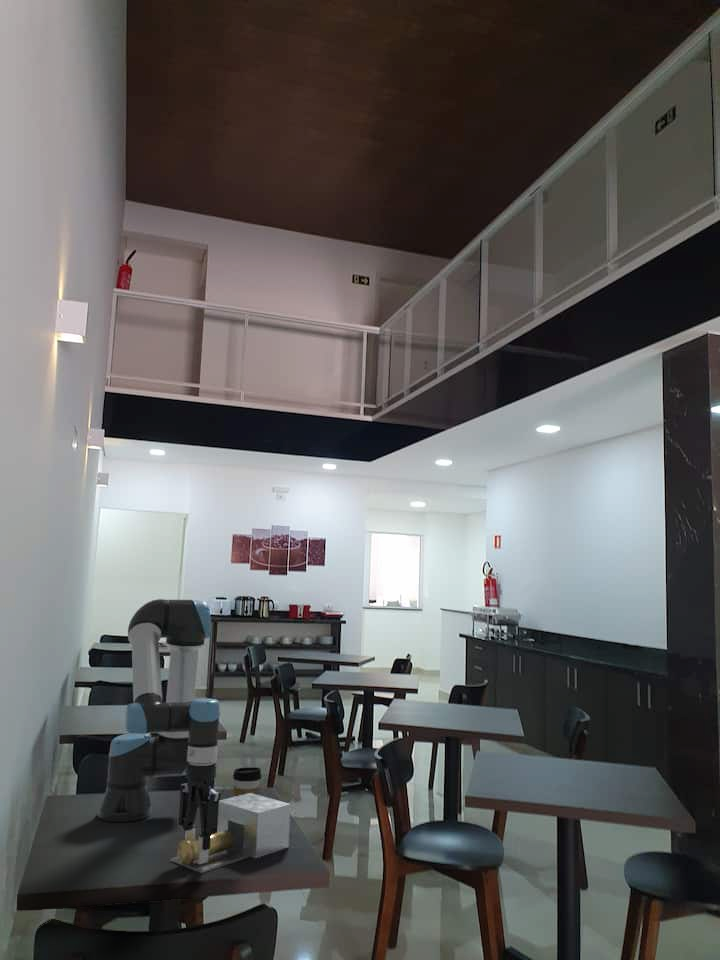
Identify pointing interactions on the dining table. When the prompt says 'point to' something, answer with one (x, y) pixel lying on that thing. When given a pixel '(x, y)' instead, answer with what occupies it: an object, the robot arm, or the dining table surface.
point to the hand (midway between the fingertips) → (195, 859)
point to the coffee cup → (246, 780)
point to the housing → (248, 829)
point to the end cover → (189, 848)
